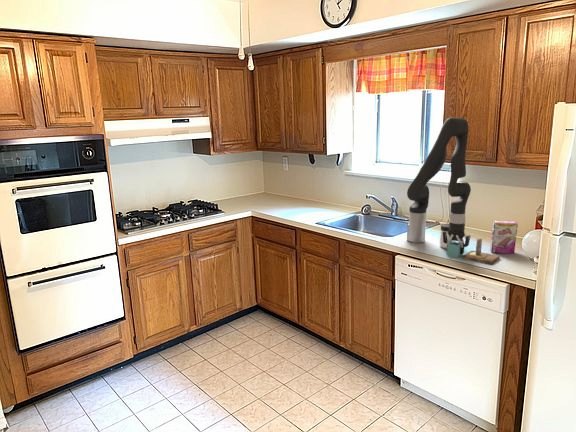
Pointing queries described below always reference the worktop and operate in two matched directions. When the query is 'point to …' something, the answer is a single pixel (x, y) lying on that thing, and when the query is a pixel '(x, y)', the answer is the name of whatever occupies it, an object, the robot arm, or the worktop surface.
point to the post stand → (480, 255)
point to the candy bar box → (503, 237)
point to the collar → (453, 249)
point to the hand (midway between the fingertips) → (455, 252)
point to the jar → (443, 228)
